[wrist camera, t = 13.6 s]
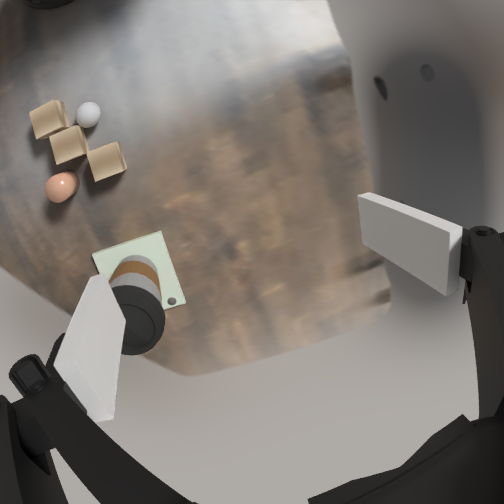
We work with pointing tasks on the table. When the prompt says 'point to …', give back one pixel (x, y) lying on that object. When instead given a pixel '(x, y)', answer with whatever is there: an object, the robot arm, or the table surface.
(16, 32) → the table surface
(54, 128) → the maple cube
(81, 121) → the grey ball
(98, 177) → the maple cube
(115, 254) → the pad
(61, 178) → the pink rounded piece
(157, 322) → the coffee cup
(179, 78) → the table surface
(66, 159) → the maple cube
